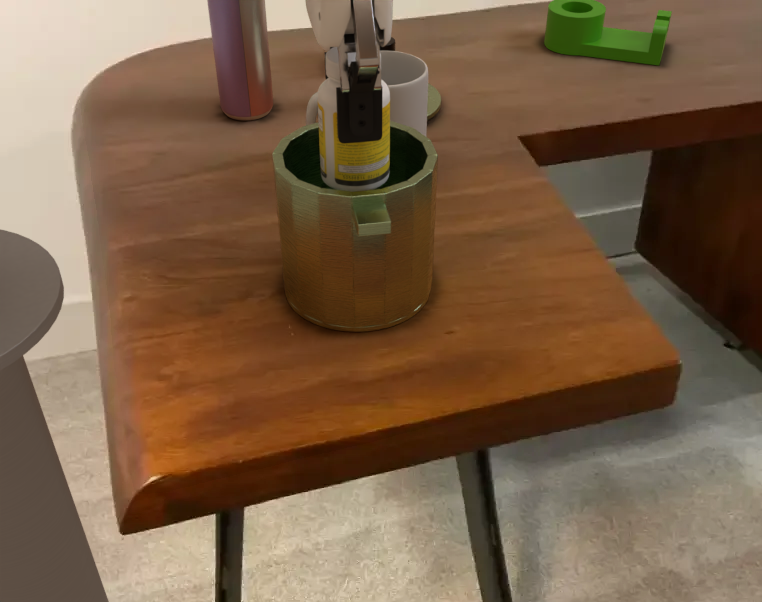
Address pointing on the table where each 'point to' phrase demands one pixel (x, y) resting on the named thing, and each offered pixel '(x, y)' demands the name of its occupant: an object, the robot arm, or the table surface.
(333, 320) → the pot
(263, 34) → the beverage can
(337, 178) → the supplement bottle
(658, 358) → the table surface
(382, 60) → the mug
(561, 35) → the tape dispenser
